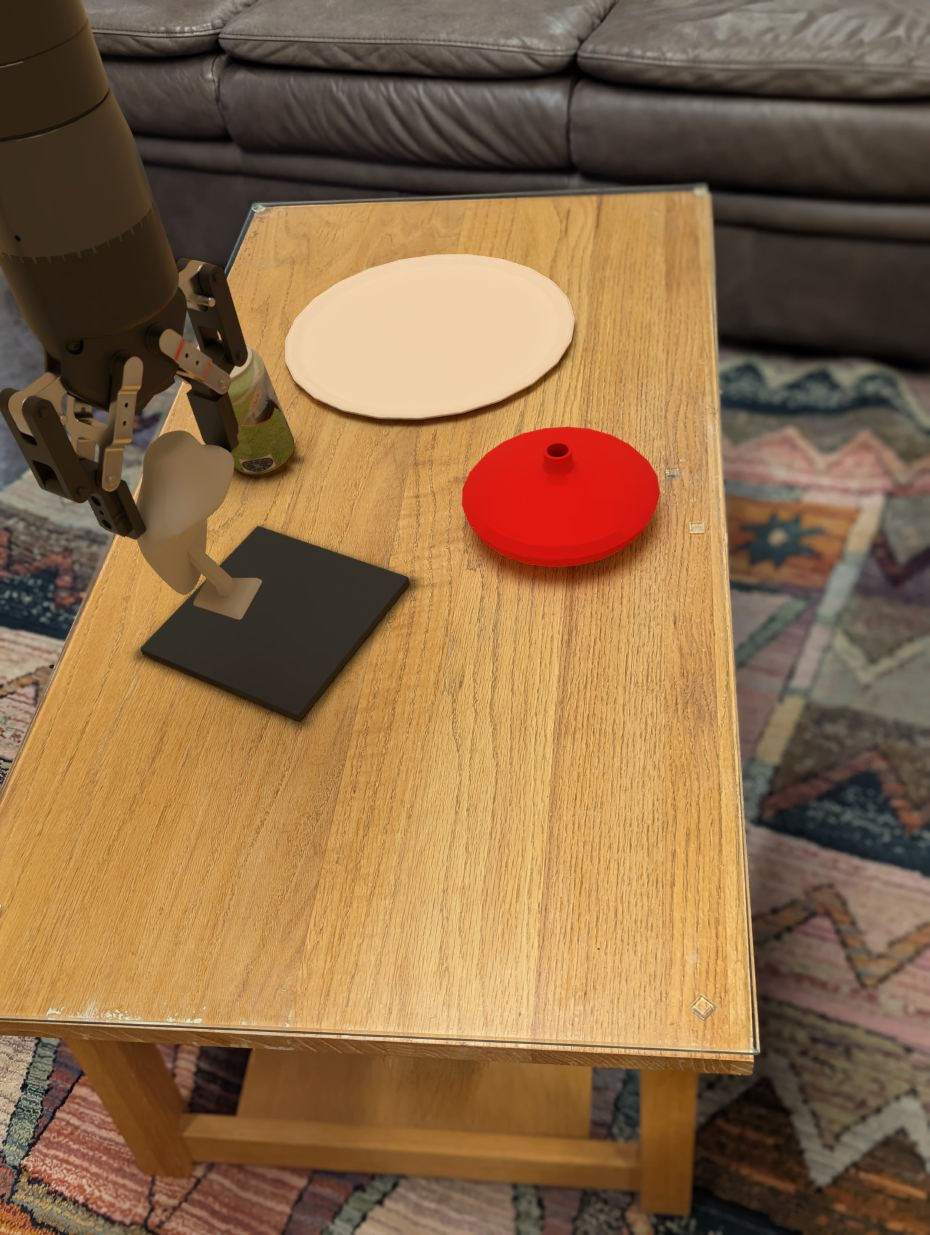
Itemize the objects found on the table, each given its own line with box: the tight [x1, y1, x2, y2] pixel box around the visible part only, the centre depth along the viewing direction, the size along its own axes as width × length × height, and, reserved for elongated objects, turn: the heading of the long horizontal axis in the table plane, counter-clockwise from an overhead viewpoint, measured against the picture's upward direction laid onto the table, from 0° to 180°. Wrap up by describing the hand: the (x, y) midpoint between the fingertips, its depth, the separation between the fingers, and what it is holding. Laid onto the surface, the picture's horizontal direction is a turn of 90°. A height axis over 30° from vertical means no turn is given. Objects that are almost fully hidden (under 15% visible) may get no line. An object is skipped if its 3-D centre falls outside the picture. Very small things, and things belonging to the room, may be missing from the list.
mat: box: [139, 525, 411, 722], centre depth 83 cm, size 15×15×1 cm
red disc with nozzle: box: [461, 426, 661, 568], centre depth 85 cm, size 16×16×7 cm
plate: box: [284, 253, 576, 420], centre depth 108 cm, size 29×29×1 cm
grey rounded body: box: [135, 429, 262, 620], centre depth 62 cm, size 8×5×12 cm
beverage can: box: [228, 342, 295, 475], centre depth 93 cm, size 6×7×12 cm
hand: (178, 487), depth 60 cm, fingers closed on grey rounded body, 7 cm apart
